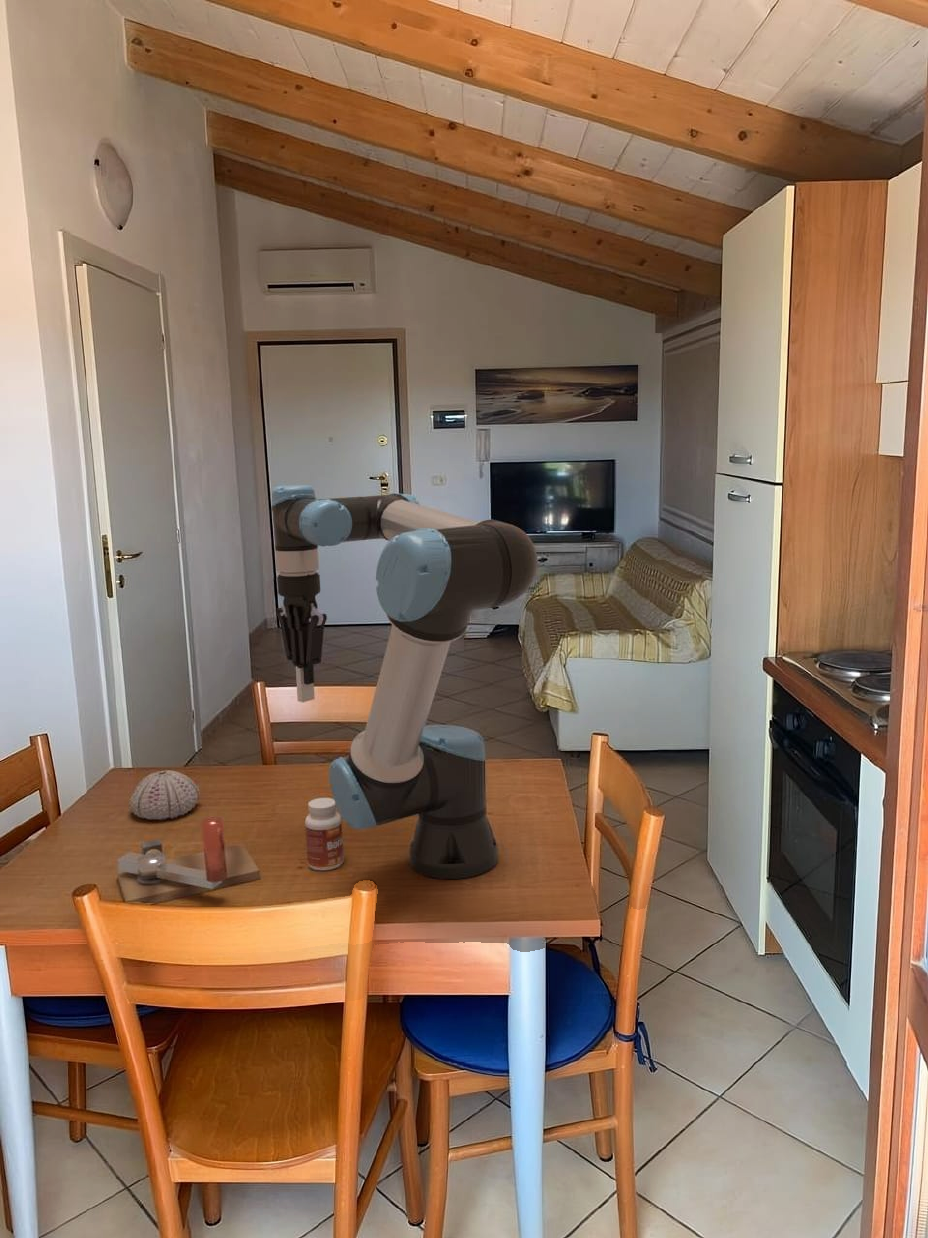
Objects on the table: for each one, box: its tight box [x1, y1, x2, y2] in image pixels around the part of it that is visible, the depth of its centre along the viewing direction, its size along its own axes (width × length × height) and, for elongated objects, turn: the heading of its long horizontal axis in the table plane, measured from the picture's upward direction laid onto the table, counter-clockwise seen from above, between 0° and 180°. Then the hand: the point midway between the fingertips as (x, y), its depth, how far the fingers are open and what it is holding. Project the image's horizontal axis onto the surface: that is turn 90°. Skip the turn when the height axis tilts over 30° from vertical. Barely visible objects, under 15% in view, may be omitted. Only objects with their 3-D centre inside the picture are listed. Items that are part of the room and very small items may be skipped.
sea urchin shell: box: [128, 769, 201, 821], centre depth 185 cm, size 13×14×8 cm
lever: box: [116, 816, 227, 889], centre depth 151 cm, size 21×4×11 cm, turn 66°
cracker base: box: [116, 838, 261, 904], centre depth 157 cm, size 21×14×4 cm
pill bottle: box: [304, 797, 345, 871], centre depth 159 cm, size 6×6×11 cm
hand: (306, 700), depth 172 cm, fingers closed
